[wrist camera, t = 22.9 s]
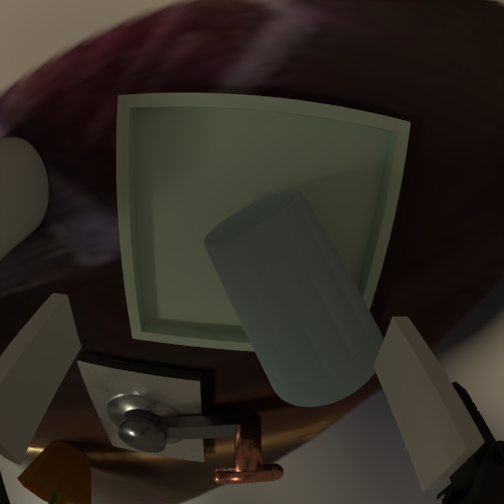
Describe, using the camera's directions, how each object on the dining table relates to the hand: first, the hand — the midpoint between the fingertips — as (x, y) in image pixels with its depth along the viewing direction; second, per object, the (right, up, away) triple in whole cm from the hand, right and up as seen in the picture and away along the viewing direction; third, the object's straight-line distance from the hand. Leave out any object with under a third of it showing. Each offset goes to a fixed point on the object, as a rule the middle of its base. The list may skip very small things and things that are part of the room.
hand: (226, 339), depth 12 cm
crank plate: (-10, -14, +18) cm, 25 cm away
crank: (-5, -14, +16) cm, 21 cm away
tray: (+1, +5, +9) cm, 10 cm away
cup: (+1, +6, +8) cm, 10 cm away
